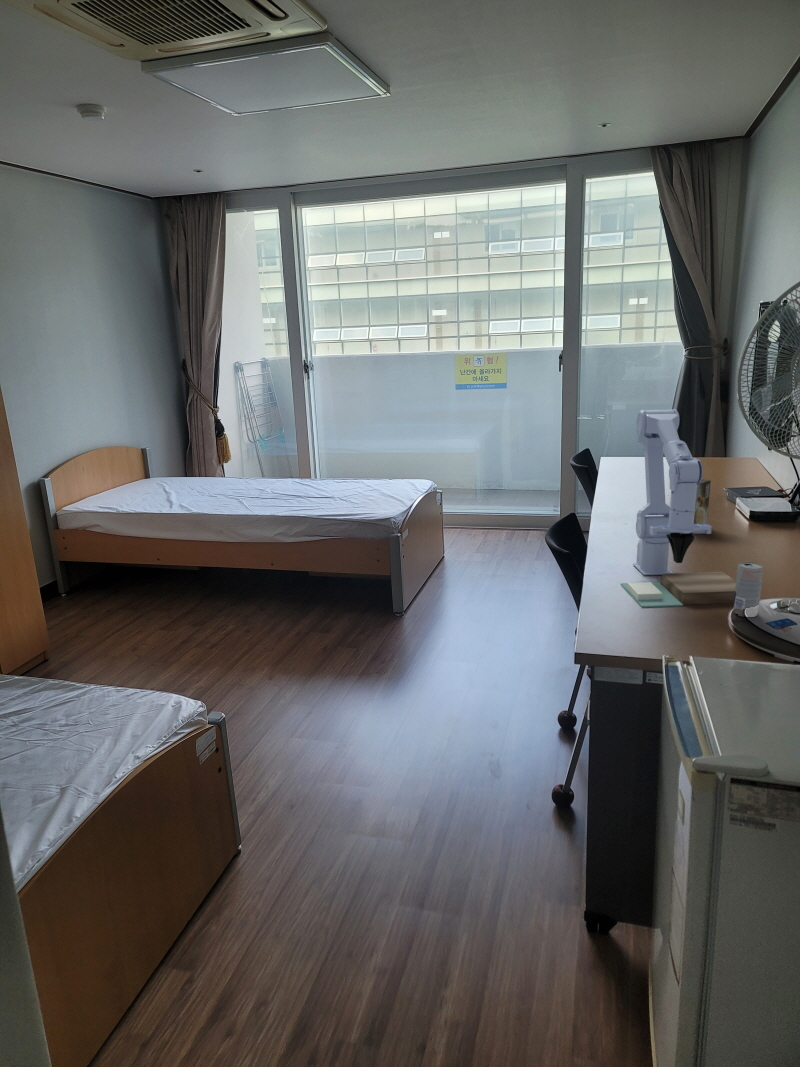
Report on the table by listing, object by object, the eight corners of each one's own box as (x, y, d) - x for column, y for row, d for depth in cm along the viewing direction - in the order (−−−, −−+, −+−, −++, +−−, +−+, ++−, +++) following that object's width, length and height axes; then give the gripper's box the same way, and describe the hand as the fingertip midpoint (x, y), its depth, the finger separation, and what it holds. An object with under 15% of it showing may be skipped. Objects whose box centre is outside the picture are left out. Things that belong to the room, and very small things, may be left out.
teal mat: (620, 584, 190) (620, 583, 190) (658, 583, 190) (658, 582, 190) (641, 607, 175) (641, 605, 175) (682, 606, 175) (682, 604, 175)
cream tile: (650, 582, 186) (650, 587, 186) (627, 583, 186) (627, 588, 186) (662, 593, 178) (661, 599, 178) (638, 594, 178) (637, 600, 178)
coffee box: (689, 524, 244) (693, 477, 239) (707, 527, 239) (711, 480, 235) (674, 529, 238) (678, 481, 234) (692, 533, 234) (696, 484, 229)
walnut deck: (660, 584, 189) (661, 573, 188) (721, 582, 189) (722, 571, 189) (682, 604, 176) (683, 592, 175) (747, 602, 176) (748, 590, 175)
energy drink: (750, 609, 172) (756, 561, 169) (762, 617, 167) (768, 568, 163) (728, 609, 172) (733, 562, 168) (739, 618, 167) (744, 569, 163)
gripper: (658, 514, 172) (654, 567, 176) (719, 512, 173) (713, 565, 176) (648, 506, 179) (644, 558, 183) (706, 504, 179) (701, 556, 183)
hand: (677, 561), depth 180 cm, fingers closed
